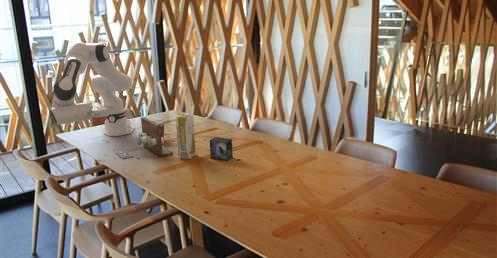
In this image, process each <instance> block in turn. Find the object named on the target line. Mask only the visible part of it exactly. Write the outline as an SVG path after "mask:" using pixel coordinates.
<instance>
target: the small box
mask: <svg viewBox="0 0 497 258" xmlns="http://www.w3.org/2000/svg"><path fill="white" fill-rule="evenodd" d="M209 150H210V159H213V160H217V161H223V162H228V161H229V160H231V159H233V158H234V156H233V139H232V138H225V137H218V136H215V137H213V138H211V139H209Z"/></svg>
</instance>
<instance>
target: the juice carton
mask: <svg viewBox="0 0 497 258" xmlns="http://www.w3.org/2000/svg"><path fill="white" fill-rule="evenodd" d="M194 120H195V119H194V115H193V114H192V113H187V112H186V113H184V114H183V113H182V114H180V115H179V116H177V117H176V118H175V128H176V129H175V130H176V142H177V152H178V157H179V159H181V160H183V159H184V160H191V159H192V158H193V157H194V156H196V136H195V121H194Z"/></svg>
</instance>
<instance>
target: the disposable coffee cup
mask: <svg viewBox="0 0 497 258" xmlns="http://www.w3.org/2000/svg"><path fill="white" fill-rule="evenodd" d="M152 121H153V122H155V123H157V124H159V125H160V129H161V137H163V138H164V139H165V137H164V136H165V125H166V123H165V121H164V120H160V119H158V120H152Z"/></svg>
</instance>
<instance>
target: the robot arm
mask: <svg viewBox="0 0 497 258" xmlns="http://www.w3.org/2000/svg"><path fill="white" fill-rule="evenodd" d="M88 64H89V65H90V64H91V65H92V66H93V69H94V71H95V73H96V74H97V75H94V76H92V78H91V84H90V85H91V87H92V89H93V90H94V91H96V93H97V92H98V94H99V95H100V96H101V98H102V100H103V103H104V105H103V104H101V103H99V102H80V103H75V100H76V99H75V97H76V93H77V85H76V79H77V77H78V76H80V75H83V74H84V73H85V71H86V69H87V67H88ZM63 67H64V70H63V74H62V75H61V77H60V78H59V79H57V81H56V82H55V83H54V85H53V98H52V99H53V101H52V105H51V108H50V110H49V117H50V119H51V121H52V122H53V123H54V124H56V125H65V124H67V125H68V124H73V123H75V122H83V121H84V122H85V121H90V120H92V118H101V117H102V118H103V117H105V119H106V120H104V131H103V134H104V135H106V136H108V137H109V136H110V137H117V136H118V137H119V136H124V135H128V134H132V133H133V131H134V129H135V128H136V127H135V126H133V125H132V124H131V120H130V119H129V118H128V117H127V116H126V114H127V110H124V109H125V108H124V101H123V100H122V98H121V97H119V96H117V95H116V94H115V93H114V92H125V91H129V90H130V89H131V87H132V84H133V82H132V79H131V77H130V76H129V74H125V73H123V72H122V71H120V69H119V68H117V67H116V66H115V65H114V63H113V62H112V59H111V57H110V53H109V49H108V47H107V46H106V44H103V43H99V42H98V43H97V42H95V43H84V42H82V41H81V42H80V41H77V42H74V43H73V44H72V45H71V46H70V47H69V49H68V52H67V54H66V56H65V60H64V66H63Z"/></svg>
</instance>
